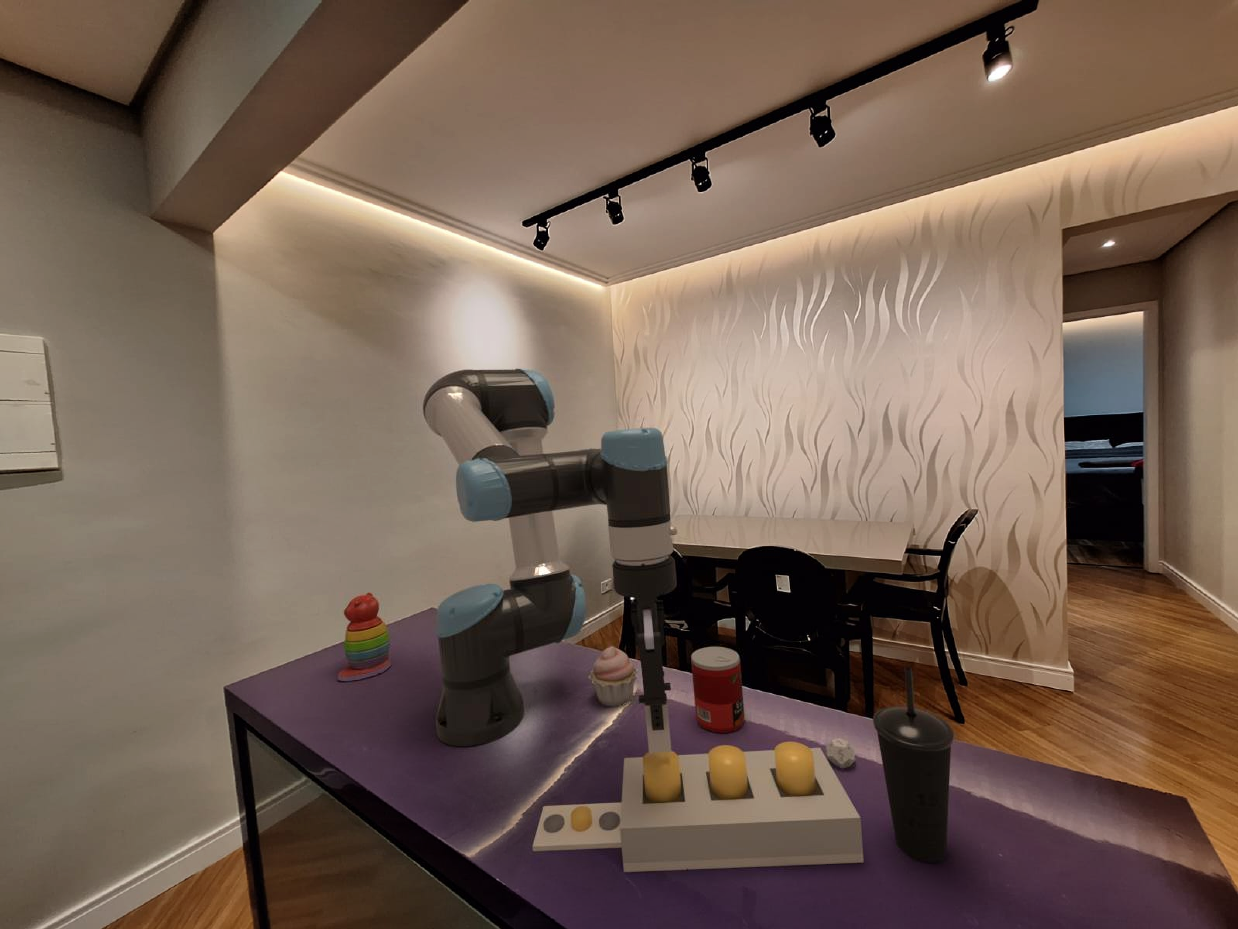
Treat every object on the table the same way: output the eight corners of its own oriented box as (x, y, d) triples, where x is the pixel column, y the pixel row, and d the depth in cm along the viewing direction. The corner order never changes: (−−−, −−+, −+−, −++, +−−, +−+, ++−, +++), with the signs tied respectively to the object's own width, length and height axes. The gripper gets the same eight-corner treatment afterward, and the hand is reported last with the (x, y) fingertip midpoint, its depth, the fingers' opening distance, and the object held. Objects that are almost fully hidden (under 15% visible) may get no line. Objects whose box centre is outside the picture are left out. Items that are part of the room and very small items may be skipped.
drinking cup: (866, 823, 57) (855, 657, 57) (927, 813, 58) (916, 649, 57) (910, 880, 50) (898, 690, 49) (980, 868, 50) (968, 680, 50)
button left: (645, 806, 57) (642, 773, 57) (645, 780, 62) (642, 749, 62) (682, 804, 57) (680, 771, 57) (680, 778, 61) (677, 747, 61)
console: (623, 872, 54) (619, 828, 54) (627, 794, 66) (624, 758, 66) (863, 862, 52) (860, 817, 52) (822, 784, 64) (820, 747, 64)
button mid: (713, 803, 57) (710, 769, 57) (708, 777, 61) (706, 746, 61) (751, 801, 57) (748, 767, 56) (743, 775, 61) (741, 744, 61)
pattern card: (533, 851, 58) (531, 836, 58) (544, 810, 64) (542, 797, 64) (625, 847, 57) (623, 832, 57) (627, 806, 63) (625, 793, 63)
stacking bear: (364, 660, 119) (356, 589, 118) (402, 659, 118) (394, 587, 117) (332, 682, 108) (323, 604, 108) (374, 681, 107) (365, 602, 106)
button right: (782, 799, 56) (780, 766, 56) (772, 773, 61) (770, 742, 61) (821, 797, 56) (818, 764, 56) (808, 772, 61) (806, 740, 60)
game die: (839, 775, 66) (837, 753, 66) (821, 758, 70) (820, 738, 69) (861, 768, 67) (859, 747, 67) (843, 752, 70) (841, 732, 70)
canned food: (746, 735, 76) (740, 666, 76) (695, 733, 78) (689, 666, 78) (743, 708, 84) (738, 646, 83) (697, 707, 85) (692, 646, 85)
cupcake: (630, 715, 85) (625, 659, 84) (582, 708, 88) (577, 655, 88) (647, 688, 93) (643, 637, 93) (603, 683, 97) (598, 634, 97)
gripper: (678, 569, 51) (696, 785, 52) (671, 543, 64) (686, 717, 65) (607, 574, 52) (627, 788, 53) (615, 548, 65) (630, 720, 66)
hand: (660, 748), depth 59 cm, fingers closed
